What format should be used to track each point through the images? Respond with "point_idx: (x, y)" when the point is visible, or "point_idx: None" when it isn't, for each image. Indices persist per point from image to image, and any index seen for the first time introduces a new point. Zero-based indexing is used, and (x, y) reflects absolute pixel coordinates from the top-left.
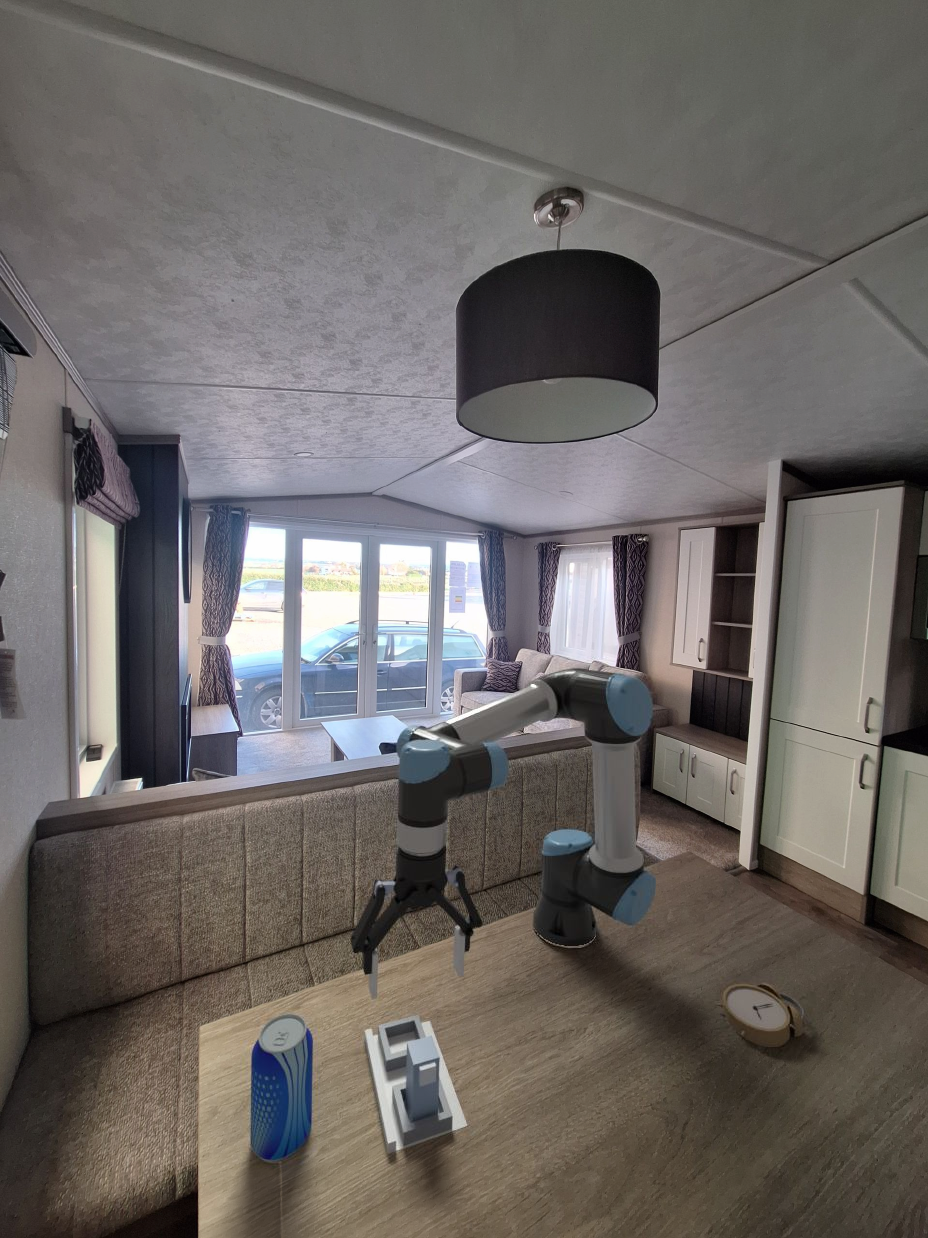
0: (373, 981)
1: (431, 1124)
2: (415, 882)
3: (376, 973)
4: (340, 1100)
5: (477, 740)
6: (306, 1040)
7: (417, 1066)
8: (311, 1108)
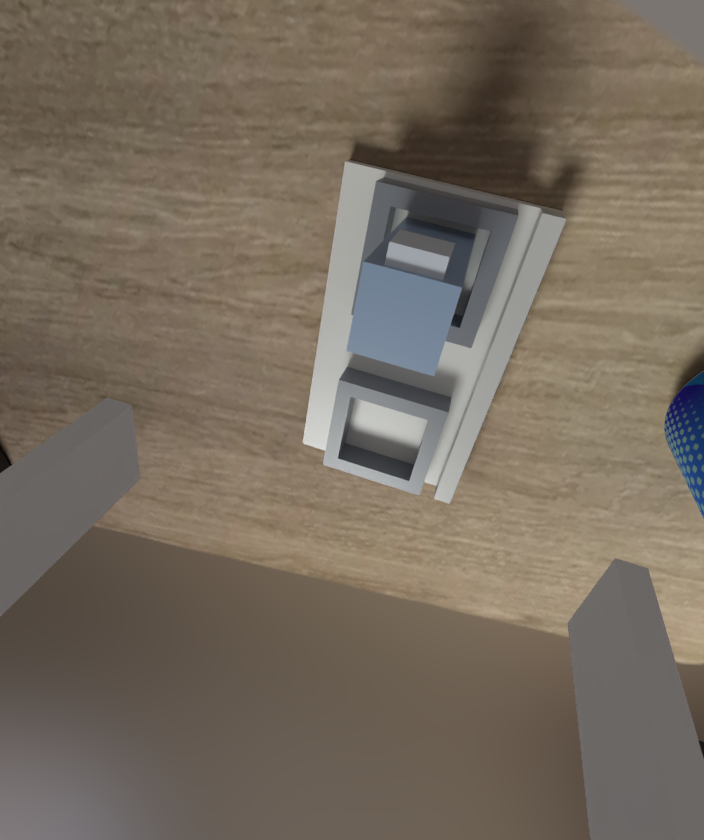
0: (671, 672)
1: (437, 195)
2: None
3: (664, 724)
4: (570, 405)
5: None
6: None
7: (448, 280)
8: (700, 408)
